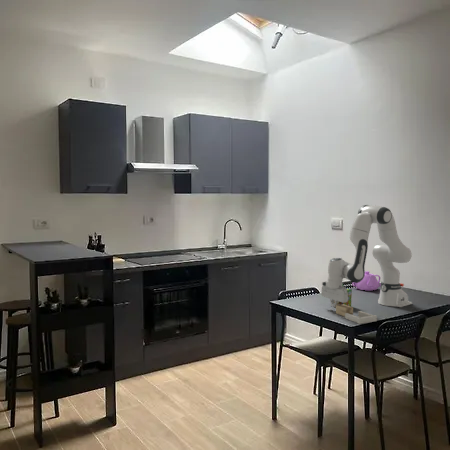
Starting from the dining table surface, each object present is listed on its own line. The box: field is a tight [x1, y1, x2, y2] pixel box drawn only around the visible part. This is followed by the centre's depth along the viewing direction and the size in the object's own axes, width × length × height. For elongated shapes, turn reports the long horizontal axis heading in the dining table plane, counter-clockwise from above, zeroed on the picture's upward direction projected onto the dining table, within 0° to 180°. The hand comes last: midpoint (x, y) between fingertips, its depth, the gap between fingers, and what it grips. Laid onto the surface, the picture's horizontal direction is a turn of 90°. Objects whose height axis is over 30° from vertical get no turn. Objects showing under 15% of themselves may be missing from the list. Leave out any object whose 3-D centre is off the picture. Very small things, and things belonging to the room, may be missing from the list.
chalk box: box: [334, 282, 353, 307], centre depth 293 cm, size 9×9×15 cm
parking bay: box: [344, 310, 378, 325], centre depth 263 cm, size 14×12×3 cm
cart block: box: [335, 304, 354, 317], centre depth 274 cm, size 6×8×5 cm
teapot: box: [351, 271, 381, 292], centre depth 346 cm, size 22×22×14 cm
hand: (334, 306), depth 282 cm, fingers closed
